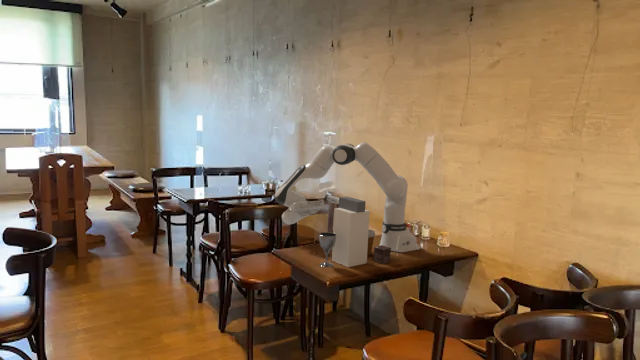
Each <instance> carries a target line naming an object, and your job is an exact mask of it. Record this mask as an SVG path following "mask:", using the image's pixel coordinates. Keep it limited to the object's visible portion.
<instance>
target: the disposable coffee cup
mask: <svg viewBox="0 0 640 360" xmlns="http://www.w3.org/2000/svg"><path fill="white" fill-rule="evenodd" d="M375 235H376V233H375V231H374V230H372V229H369V231H368V248H367V256H370V255H371V256H372V250H373V245H374V239H375Z"/></svg>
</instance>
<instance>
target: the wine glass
mask: <svg viewBox="0 0 640 360" xmlns="http://www.w3.org/2000/svg"><path fill="white" fill-rule="evenodd" d="M318 237H319V245H320V247H321V248H322V249H323V251H324V253H325V262H320V263H319V264H318V265H319V266H320V267H323V268H333V267H334V266H335V264H334V263H331V262H328V260H329V259H328V257H329V253H330V251H332V248H333V247H334V245H335V242H336V234H335V233H333V232H330V231H325V232H324V231H323V232H319V235H318ZM333 264H334V265H333Z"/></svg>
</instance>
